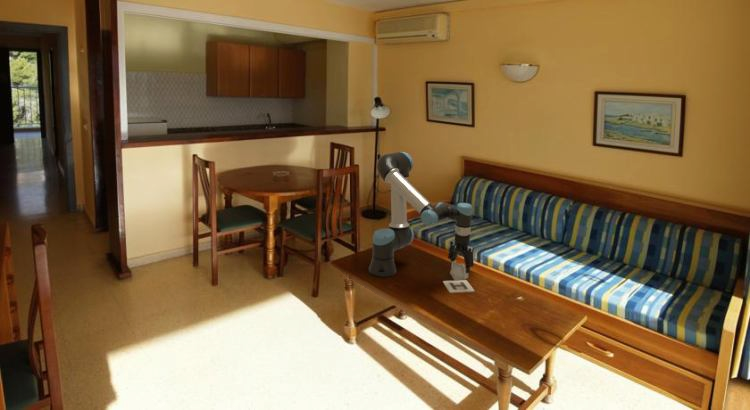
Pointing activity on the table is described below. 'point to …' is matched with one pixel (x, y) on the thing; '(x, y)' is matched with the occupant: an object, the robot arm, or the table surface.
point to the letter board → (458, 286)
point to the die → (457, 272)
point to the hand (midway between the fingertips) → (459, 275)
